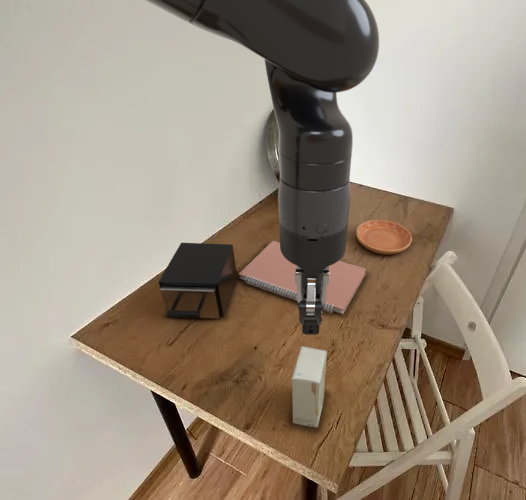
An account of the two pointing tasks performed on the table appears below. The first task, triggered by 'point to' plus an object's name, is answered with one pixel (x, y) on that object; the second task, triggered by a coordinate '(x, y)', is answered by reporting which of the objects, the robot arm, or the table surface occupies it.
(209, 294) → the drawer
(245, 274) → the notebook
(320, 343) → the table surface
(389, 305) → the table surface
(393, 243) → the saucer
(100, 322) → the table surface
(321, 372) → the cosmetic box
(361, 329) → the table surface
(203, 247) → the cabinet
